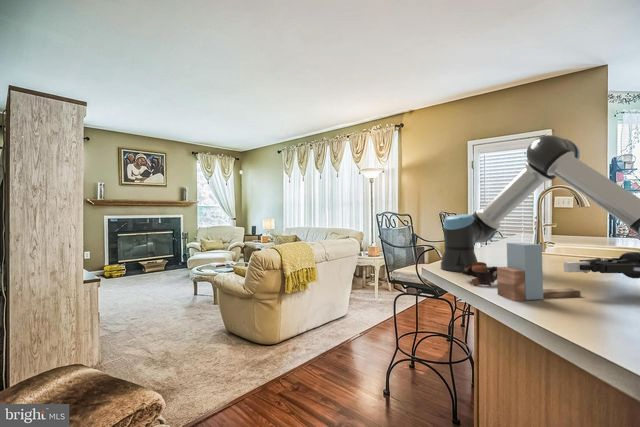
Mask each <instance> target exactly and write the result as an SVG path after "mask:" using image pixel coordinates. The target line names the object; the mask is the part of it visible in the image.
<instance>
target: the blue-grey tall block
mask: <svg viewBox="0 0 640 427" xmlns="http://www.w3.org/2000/svg"><path fill="white" fill-rule="evenodd" d="M506 263H507V264H506V265H507V266H506V267H510V268H514V269H518V270H522V271H524V276H525V301H531V300H544V298H543V289H544V282H543V281H544V278H543V272H544V271H543V245H542V244H540V243H532V242H531V243H530V242H506Z"/></svg>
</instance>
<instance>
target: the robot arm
mask: <svg viewBox="0 0 640 427" xmlns="http://www.w3.org/2000/svg"><path fill="white" fill-rule="evenodd" d="M580 153H581V152H580V149H579V147H578V145H577V144H576V143H574V142H573V141H572V140H570V139H567V138H563V137H558V136H557V135H553V134H551V135H550V134H548V135H547V134H546V135H542V136H539V137H537V138H535V139H534V140H532V141H531V142H530V144H529V145H528V146H527V150H526V160H525V167H524V168H523V169H522V170H521V171H520V172H519V173H518V174H517V175H516V176H515V177H514V178H513V179H512V180H511V181H510V182H509V183H508V184H507V185H506V186H505V187H504V188H502V190H501V191H500V192H499V193H498V194H496V196H495V197H494V198H493V199H492V200H491V201H489V202H488V204H486V205H485V207H483V208H480V209H479V208H478V209H476V211H474V212H473V213H472V214H467V213H466V214H456V215H455V214H454V215H449V216H448V215H447V216H446V217H445V218H444V220H443V234H444V235H443V238H444V239H443V240H444V242H443V244H444V251H443V255H442V258H441V262H440V269H442V270H444V271H450V272H461V273H463V271H464V266H465V265H467V264H469V263H475V262H479V261H478V259H477V256H476V253H475V244H477V243H478V244H481V243H486V242H488V241H490V240H492V239H493V238H494V237H495V235H496V234H497V230H499V229H500V227H501V225H500V224H501V223H500V222H502V221H503V220H504V219H505V218H506V217H507V216H508V215H509V214H511V213H512V212H513V211H514V210H515V209H516V208H517V207H519V206H520V205H521V204H522V202H523V201H525V200H526V199H527V198H528V197H529V196H530V195H532V194H533V193H534V192H535V191H536V190H537V189H538V188H540V186H542V185H543V183H545V182H547V181H548V182H549V181H553V180H554V179H556V178H557V179H559V180H560V181H561V182H563V183H565V184H566V185H568V186H569V187H570V188H572V189H573V190H575V191H576V192H578V193H580V194H581V195H582V196H583V197H585V198H586V199H588V200H589V201H591V202H592V203H594V204H595V205H596V206H598V207H600V208H601V209H602V210H604V211H605V212H606V213H608V214H610V216H613V217H614V218H615V219H617V220H618V221H619V222H621V223H622V224H624V225H625V226H627V227H628V228H630V229H631V230H632V231H633V232H635V233H636V234H637V235H639V237H640V197H638V196H637V195H635V194H634V193H632V192H631V191H629V190H628V189H626V188H624V187H622V186H621V185H619V184H618V183H616V182H614V181H613V180H612V179H610V178H608V177H607V176H605V175H604V174H602V173H600V172H599V171H597V170H595V169H594V168H593V167H591V166H589V165H588V164H586V163H584V162H583V161H581V160H579V159H580V157H581V156H580V155H581V154H580ZM470 269H472V267H471V268H470ZM563 271H564V272H566V273H584V274H585V273H586V274H588V273H589V272H591V273H592V272H593V273H599V274H600V273H601V274H623V275H624V276H626V277H627V278H629V279H630V278H631V279H640V251H634V252H633V251H631V252H628V251H627V252H625V253H623V254H621V255H620V256H619V257H612V258H605V259H603V258H600V257H597V258H592V259H580V260H579V261H563Z"/></svg>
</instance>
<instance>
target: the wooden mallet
mask: <svg viewBox="0 0 640 427" xmlns="http://www.w3.org/2000/svg"><path fill="white" fill-rule="evenodd" d="M496 267H497V271H496V274H497V279H496V281H497V282H496V284H497V295H498V296H500V297H503V298H506V299H509V300H511V301H514V302H523V301H526V300H525V276H524V271H522V270H518V269H514V268H510V267H507V266H496ZM565 297H566V298H569V297H581V290H580V289H579V290H578V289H574V288H545V289H544V288H543V299H545V298H565Z"/></svg>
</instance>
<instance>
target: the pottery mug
mask: <svg viewBox="0 0 640 427" xmlns="http://www.w3.org/2000/svg"><path fill="white" fill-rule="evenodd" d="M471 267H472V269H470V268H471ZM497 267H498V266H490V267H489V266H487V263H485V262H482V261H481V262H480V261H478V262H475V263H469V264H467V265H465V266H464V271H463V272H462V275H466V276H467V277H474V278H471V282H472V285H473V286H490V287H491V286H492V283H493V284H494V283H495V281H497V273H496V274H495V275H494V273H495V272H497Z"/></svg>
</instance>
